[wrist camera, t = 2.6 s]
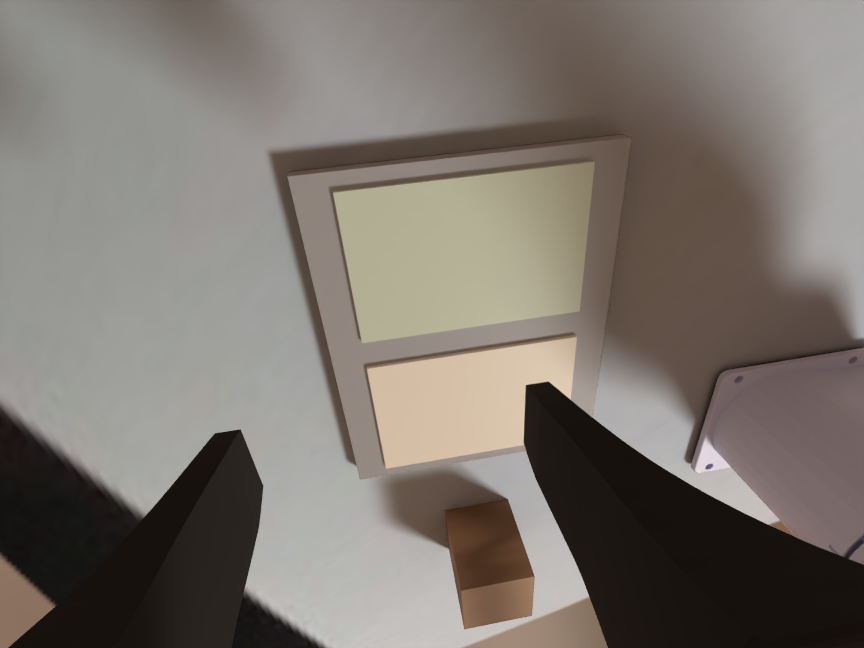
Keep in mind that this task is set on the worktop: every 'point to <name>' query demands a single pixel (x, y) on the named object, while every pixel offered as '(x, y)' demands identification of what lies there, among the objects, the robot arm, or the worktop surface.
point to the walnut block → (489, 564)
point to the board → (461, 291)
